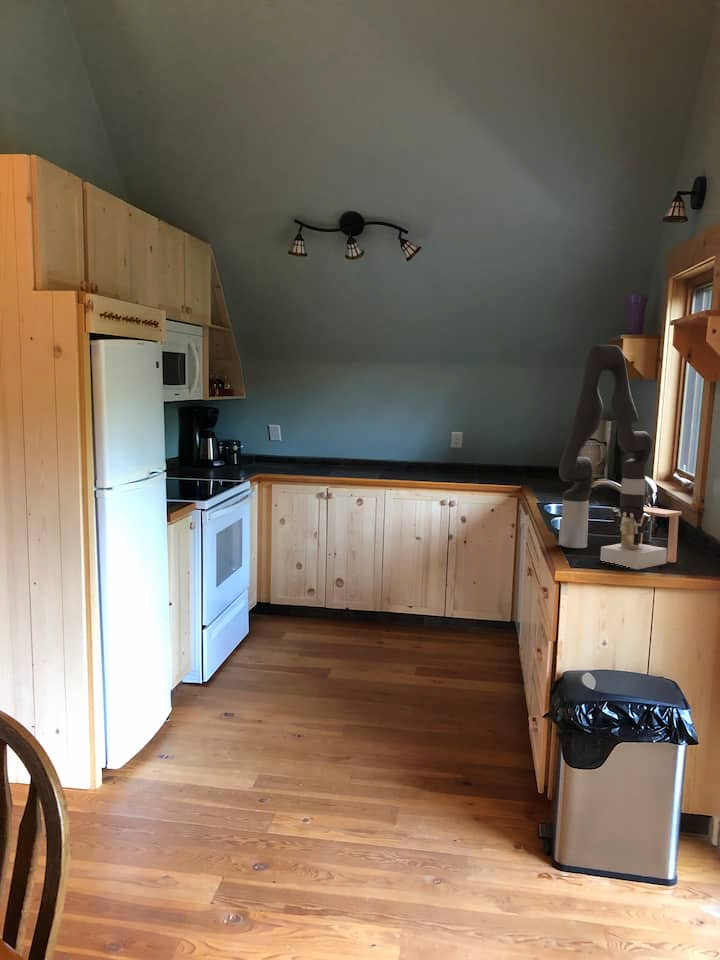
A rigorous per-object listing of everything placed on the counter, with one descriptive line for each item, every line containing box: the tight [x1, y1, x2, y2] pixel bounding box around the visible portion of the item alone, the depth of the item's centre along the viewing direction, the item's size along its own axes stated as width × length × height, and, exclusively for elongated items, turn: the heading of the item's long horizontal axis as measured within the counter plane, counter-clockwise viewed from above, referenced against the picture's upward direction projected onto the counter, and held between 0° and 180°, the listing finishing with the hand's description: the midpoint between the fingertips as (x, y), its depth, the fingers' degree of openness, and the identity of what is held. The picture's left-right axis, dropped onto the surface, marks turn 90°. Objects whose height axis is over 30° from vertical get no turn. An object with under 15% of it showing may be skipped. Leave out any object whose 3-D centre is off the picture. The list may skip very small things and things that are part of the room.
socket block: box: [599, 543, 668, 570], centre depth 245 cm, size 14×16×5 cm
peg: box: [620, 516, 639, 551], centre depth 243 cm, size 4×4×12 cm
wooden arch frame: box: [639, 506, 683, 563], centre depth 249 cm, size 16×10×17 cm, turn 35°
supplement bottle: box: [642, 519, 653, 543], centre depth 282 cm, size 7×7×12 cm
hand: (630, 543), depth 243 cm, fingers closed on peg, 4 cm apart
